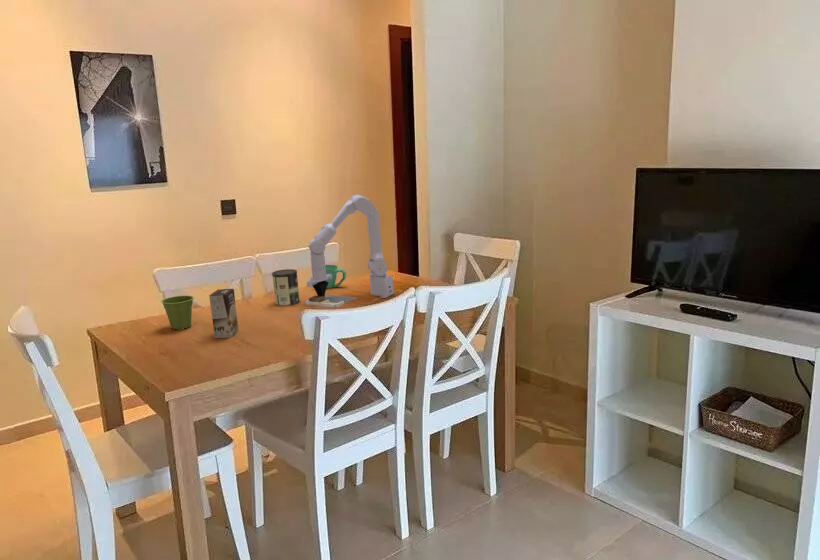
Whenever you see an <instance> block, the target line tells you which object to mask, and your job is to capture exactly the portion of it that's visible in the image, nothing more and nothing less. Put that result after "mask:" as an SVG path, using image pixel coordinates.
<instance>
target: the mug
mask: <svg viewBox="0 0 820 560" xmlns="http://www.w3.org/2000/svg"><path fill="white" fill-rule="evenodd" d="M325 267H326V274H332V279H328V280H325V281H326V282H328V286H327V288H326V289H333V288H336V287H339V286H342V284H343V282H344V281H345V280H346V279H347V270H345V269H344V268H338V265H336V264H325ZM338 273H342V278H341V280H340V281H339V282H337V283H336V281H337V274H338Z"/></svg>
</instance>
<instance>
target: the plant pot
mask: <svg viewBox="0 0 820 560" xmlns="http://www.w3.org/2000/svg"><path fill="white" fill-rule="evenodd" d="M194 299H195V297H194V296H193V295H176V296H170V297H167V298H164V299H162V300H160V302H161V304H162V305H163V308H164V310H165V312H166V316H167V318H168V321H169V326H170V328H171V329H172V328H173V329H172V330H175V329H180V330H184V329H183V328H186V329H187V328H190V327H191V326H192V315H193V314H192V310H193V301H194Z"/></svg>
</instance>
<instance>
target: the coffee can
mask: <svg viewBox="0 0 820 560" xmlns="http://www.w3.org/2000/svg"><path fill="white" fill-rule="evenodd" d="M271 275H272V282H273V289H274V301H275V305H276V306H279V307H280V306H281V307H288V306H293V305H297V304H299V303H300V302H301V301H300V300H301V299H300V292H299V283H298V281H299V280H298V271H297V269H292V268H286V269H279V270H275V271H273V272H272V273H271Z"/></svg>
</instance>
